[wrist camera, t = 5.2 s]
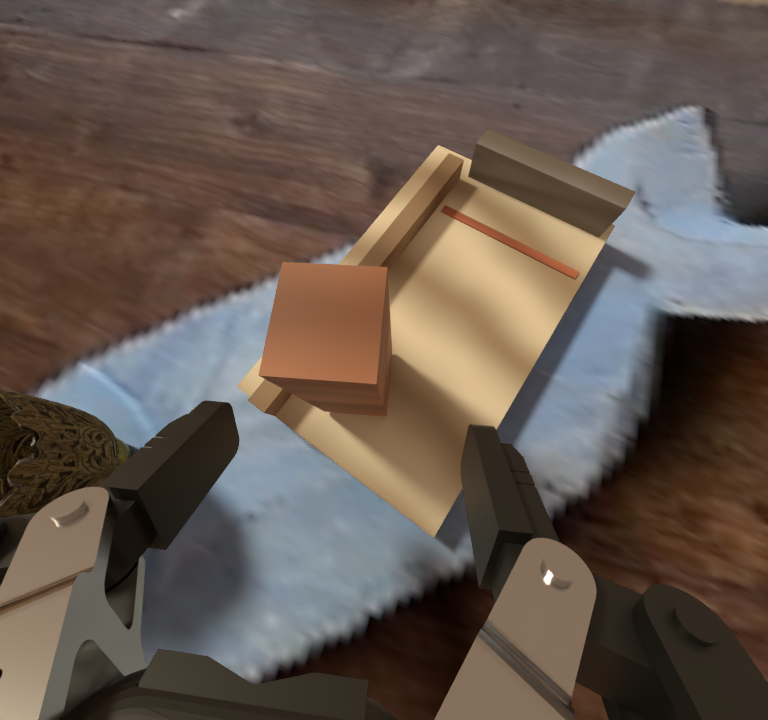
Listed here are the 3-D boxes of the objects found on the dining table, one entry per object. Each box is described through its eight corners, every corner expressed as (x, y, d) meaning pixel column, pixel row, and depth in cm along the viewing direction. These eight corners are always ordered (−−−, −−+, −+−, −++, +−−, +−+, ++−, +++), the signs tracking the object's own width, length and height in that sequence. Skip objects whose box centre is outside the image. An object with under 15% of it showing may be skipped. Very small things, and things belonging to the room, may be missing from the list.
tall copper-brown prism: (386, 416, 17) (376, 384, 9) (324, 411, 17) (258, 375, 9) (393, 338, 18) (389, 248, 10) (335, 335, 19) (285, 244, 10)
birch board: (430, 530, 17) (440, 553, 13) (248, 391, 20) (212, 376, 16) (600, 240, 22) (643, 195, 18) (435, 162, 25) (442, 110, 21)
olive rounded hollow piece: (50, 428, 20) (-173, 413, 12) (162, 391, 20) (15, 354, 12) (50, 553, 17) (-225, 633, 10) (175, 509, 18) (7, 553, 10)
